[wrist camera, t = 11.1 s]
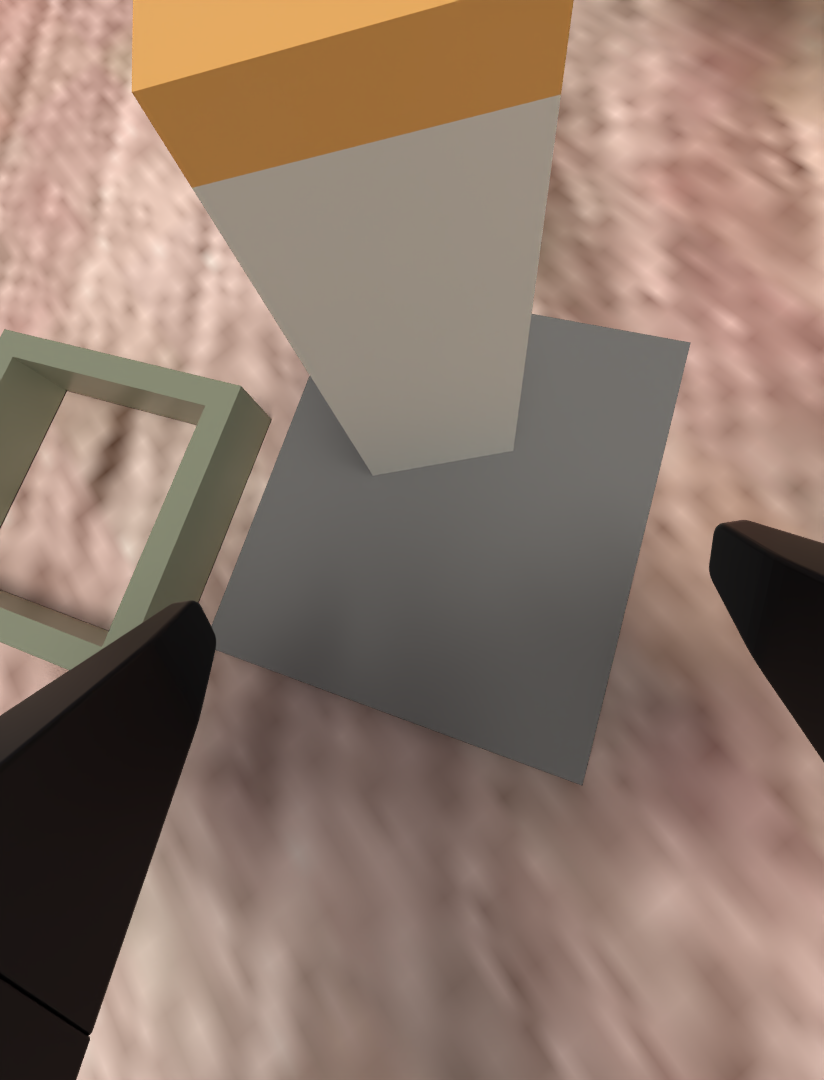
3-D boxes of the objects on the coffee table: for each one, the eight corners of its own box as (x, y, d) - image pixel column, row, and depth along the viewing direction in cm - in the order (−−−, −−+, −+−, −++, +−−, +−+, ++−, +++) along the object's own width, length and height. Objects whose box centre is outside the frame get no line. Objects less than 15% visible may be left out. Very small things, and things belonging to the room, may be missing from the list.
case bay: (165, 684, 18) (114, 688, 15) (-56, 596, 20) (-131, 588, 17) (271, 419, 20) (241, 386, 17) (57, 365, 22) (4, 329, 19)
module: (513, 450, 17) (578, -34, 5) (372, 475, 18) (131, 92, 6) (493, 350, 18) (509, -255, 6) (361, 377, 19) (134, -131, 7)
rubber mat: (578, 780, 15) (582, 785, 15) (213, 645, 18) (203, 645, 17) (683, 352, 18) (690, 342, 17) (350, 291, 20) (347, 280, 20)
